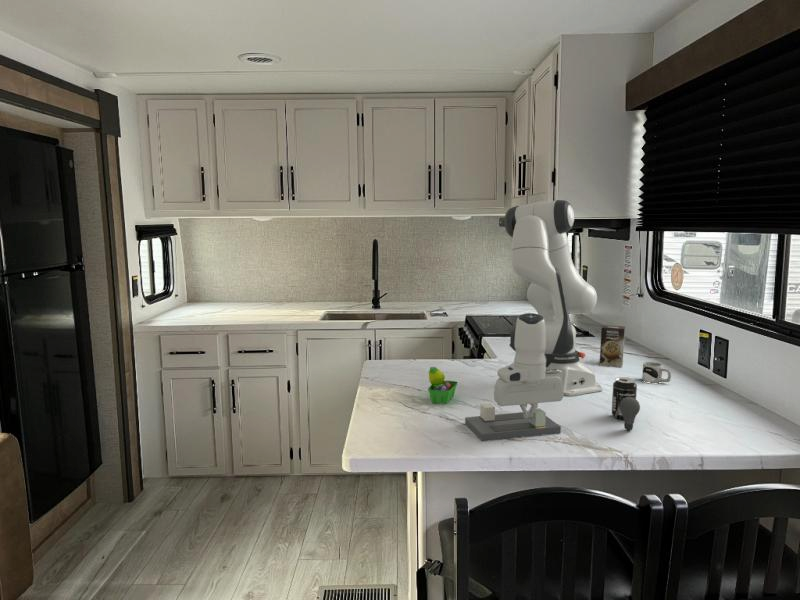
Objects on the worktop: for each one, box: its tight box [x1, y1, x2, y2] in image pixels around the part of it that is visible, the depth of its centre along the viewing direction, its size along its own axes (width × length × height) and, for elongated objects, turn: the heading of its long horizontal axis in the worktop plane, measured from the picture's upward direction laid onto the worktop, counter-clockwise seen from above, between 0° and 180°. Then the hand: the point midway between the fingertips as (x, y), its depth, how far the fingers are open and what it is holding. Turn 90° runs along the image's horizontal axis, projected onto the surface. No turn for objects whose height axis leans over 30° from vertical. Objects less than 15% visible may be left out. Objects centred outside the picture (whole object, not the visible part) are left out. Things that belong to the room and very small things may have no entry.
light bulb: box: [619, 397, 641, 432], centre depth 171 cm, size 6×6×10 cm
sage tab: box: [530, 407, 547, 427], centre depth 171 cm, size 3×4×4 cm
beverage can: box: [611, 376, 638, 421], centre depth 182 cm, size 7×7×12 cm
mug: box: [641, 361, 672, 383], centre depth 219 cm, size 10×7×7 cm, turn 47°
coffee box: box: [598, 324, 626, 368], centre depth 243 cm, size 9×6×16 cm
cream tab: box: [479, 402, 496, 421], centre depth 176 cm, size 3×4×4 cm
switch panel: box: [464, 411, 562, 442], centre depth 174 cm, size 24×14×2 cm, turn 103°
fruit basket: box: [427, 366, 458, 405], centre depth 201 cm, size 11×9×11 cm
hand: (528, 417), depth 171 cm, fingers closed
